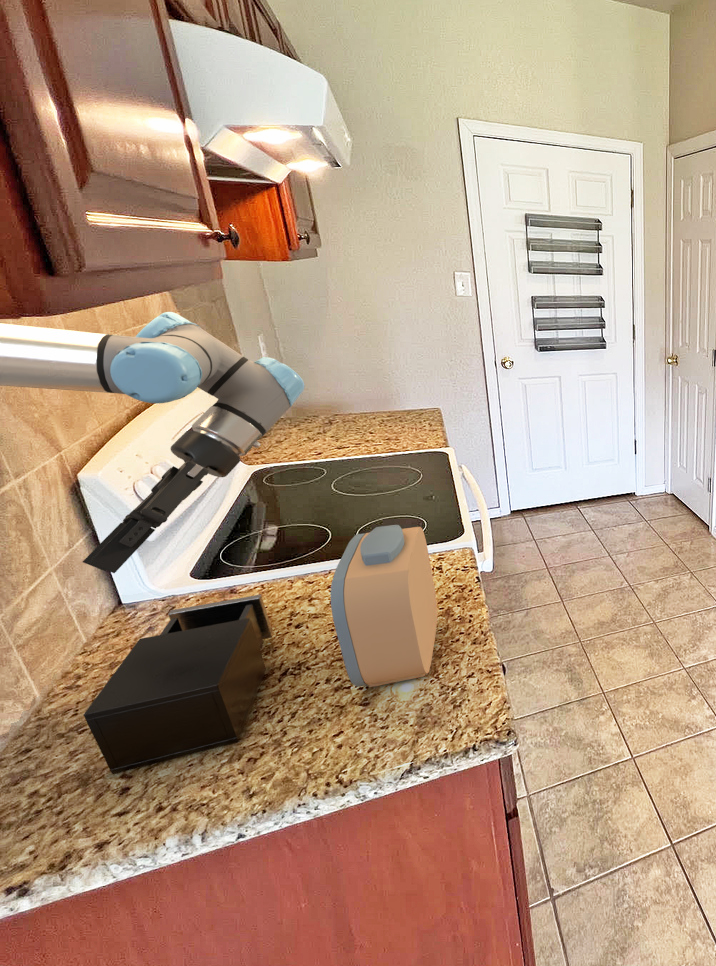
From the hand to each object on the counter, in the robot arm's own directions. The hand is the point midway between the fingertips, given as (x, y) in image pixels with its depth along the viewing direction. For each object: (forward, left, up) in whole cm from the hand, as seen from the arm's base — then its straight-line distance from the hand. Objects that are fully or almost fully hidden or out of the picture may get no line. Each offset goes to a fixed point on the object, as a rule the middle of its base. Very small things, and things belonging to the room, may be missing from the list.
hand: (97, 567), depth 76 cm
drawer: (+7, +5, -20) cm, 22 cm away
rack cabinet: (+10, -6, -21) cm, 24 cm away
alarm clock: (+33, +5, -21) cm, 40 cm away
